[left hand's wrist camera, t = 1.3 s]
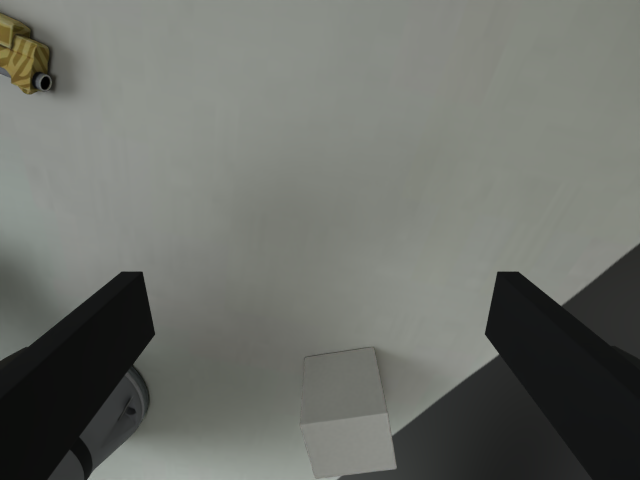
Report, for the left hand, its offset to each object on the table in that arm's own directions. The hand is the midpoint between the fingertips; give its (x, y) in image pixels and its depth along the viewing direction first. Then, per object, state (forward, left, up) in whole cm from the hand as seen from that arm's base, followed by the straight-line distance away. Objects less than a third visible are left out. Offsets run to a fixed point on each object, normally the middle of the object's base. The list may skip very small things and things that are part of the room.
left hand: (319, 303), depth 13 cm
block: (-14, -20, -22) cm, 33 cm away
